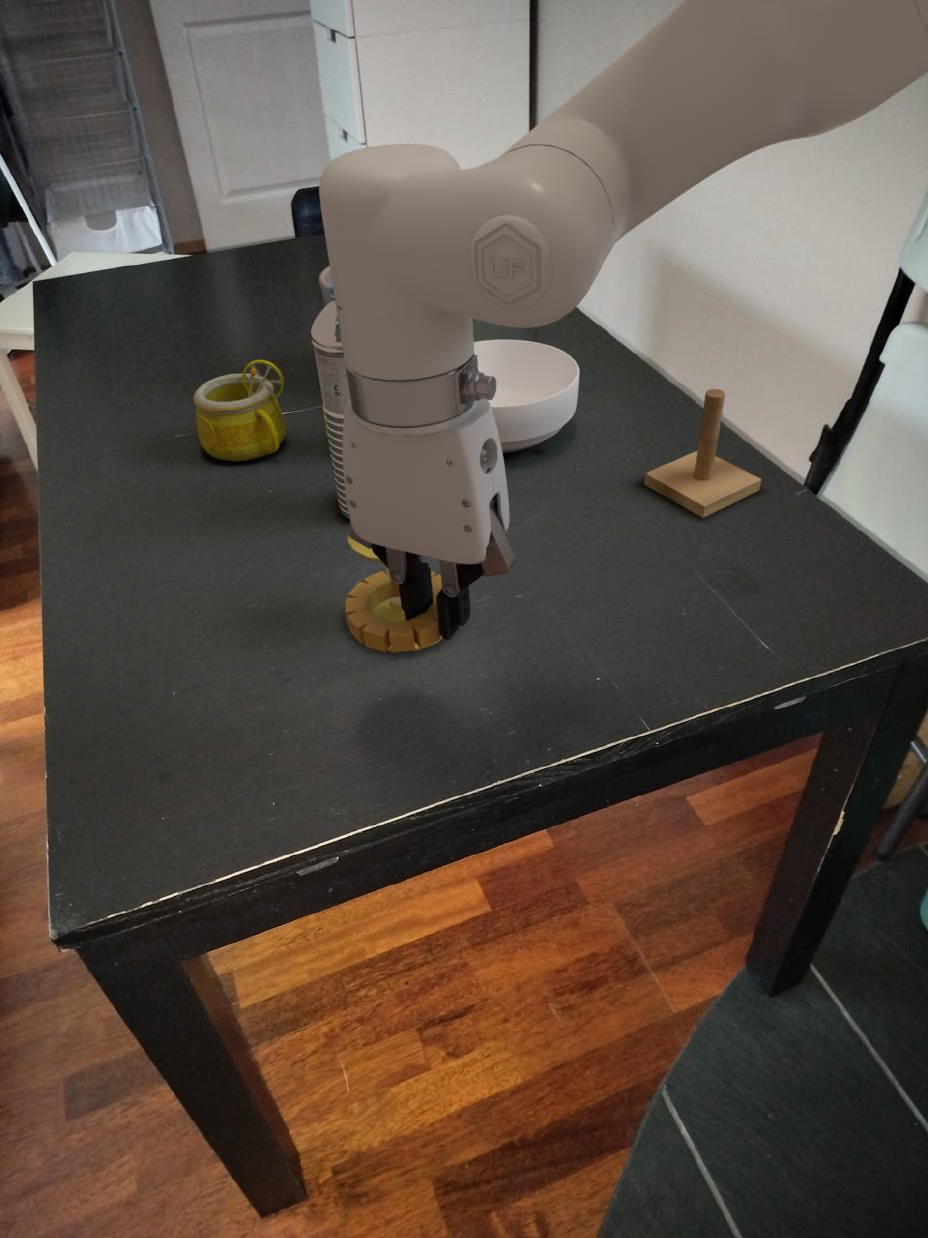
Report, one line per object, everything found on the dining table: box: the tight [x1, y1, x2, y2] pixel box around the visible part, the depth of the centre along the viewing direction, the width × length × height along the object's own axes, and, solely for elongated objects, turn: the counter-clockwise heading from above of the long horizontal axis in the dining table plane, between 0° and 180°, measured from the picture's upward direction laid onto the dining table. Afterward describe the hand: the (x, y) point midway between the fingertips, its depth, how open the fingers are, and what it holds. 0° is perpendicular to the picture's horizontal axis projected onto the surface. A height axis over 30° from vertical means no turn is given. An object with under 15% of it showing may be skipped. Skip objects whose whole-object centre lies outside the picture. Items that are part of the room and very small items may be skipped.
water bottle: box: [310, 284, 351, 521], centre depth 89 cm, size 7×7×25 cm
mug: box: [192, 359, 287, 462], centre depth 106 cm, size 13×11×12 cm
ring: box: [344, 570, 442, 654], centre depth 63 cm, size 8×8×2 cm
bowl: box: [474, 339, 580, 454], centre depth 107 cm, size 20×20×8 cm
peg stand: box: [644, 388, 762, 519], centre depth 94 cm, size 9×9×12 cm
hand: (437, 621), depth 62 cm, fingers closed on ring, 2 cm apart
